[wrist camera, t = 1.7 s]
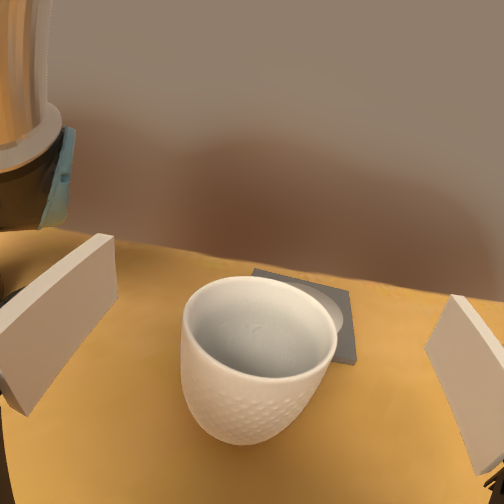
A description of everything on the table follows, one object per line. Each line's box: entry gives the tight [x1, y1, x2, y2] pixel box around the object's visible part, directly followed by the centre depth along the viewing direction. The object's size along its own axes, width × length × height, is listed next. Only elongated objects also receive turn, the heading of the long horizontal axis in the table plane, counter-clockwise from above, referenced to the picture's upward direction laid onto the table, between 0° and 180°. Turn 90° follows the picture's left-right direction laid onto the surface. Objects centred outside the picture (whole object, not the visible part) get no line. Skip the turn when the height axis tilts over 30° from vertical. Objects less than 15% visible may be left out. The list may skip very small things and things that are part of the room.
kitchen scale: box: [252, 268, 357, 365], centre depth 43 cm, size 16×16×1 cm
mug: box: [180, 276, 338, 446], centre depth 25 cm, size 15×11×13 cm
